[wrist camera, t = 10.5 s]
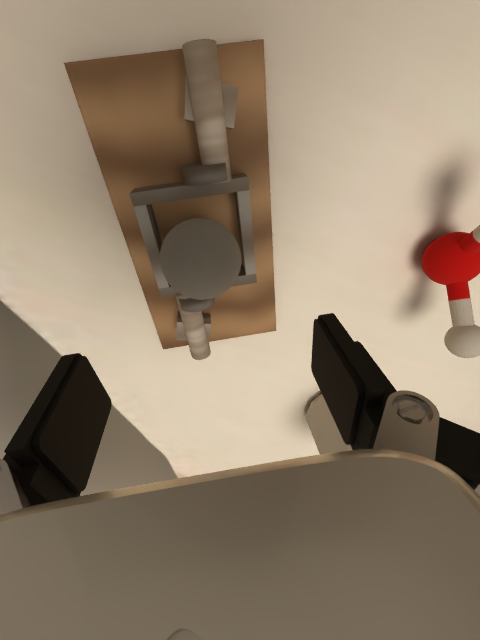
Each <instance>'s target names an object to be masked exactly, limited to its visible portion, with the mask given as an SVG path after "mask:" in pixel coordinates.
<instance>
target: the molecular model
mask: <svg viewBox="0 0 480 640" xmlns="http://www.w3.org/2000/svg"><path fill="white" fill-rule="evenodd" d="M422 267H423V270H424V272H425V274H426V275H427V276H428V277H429V278H430V279H431V280H433V281H434V282H437V283H439V284H443V285H446V287H447V294H448V300H449V306H450V313H451V319H452V325H453V327H452V328H450V329H449V330H448V331H447V333H446V335H445V340H444V341H445V345H446V347H447V349H448V350H449V351H450V352H451V353H453V354H454V355H456V356H458V357H462V358H473V357H477V356H479V355H480V327H478V326H476V325H475V324H474V318H473V312H472V305H471V299H470V293H469V287H468V281H470V280H471V279H473V278H474V277H476V276H477V275H478V274H479V273H480V225H479V226H478V227H477V228H476V229H474V230H473V231H472V232H471V233H470V234H469V233H465V232H453V233H448V234H445V235H442V236H440V237H438V238H437V239H435V240H434V241H433V242H432V243H430V244H429V246H428V247H427V248H426V250H425V252H424V254H423V257H422Z"/></svg>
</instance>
